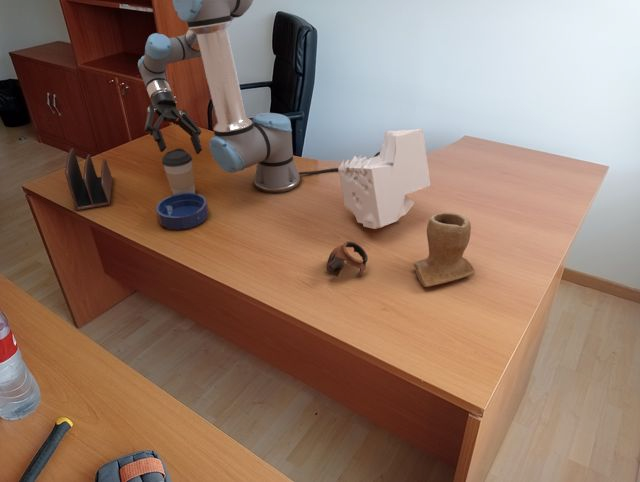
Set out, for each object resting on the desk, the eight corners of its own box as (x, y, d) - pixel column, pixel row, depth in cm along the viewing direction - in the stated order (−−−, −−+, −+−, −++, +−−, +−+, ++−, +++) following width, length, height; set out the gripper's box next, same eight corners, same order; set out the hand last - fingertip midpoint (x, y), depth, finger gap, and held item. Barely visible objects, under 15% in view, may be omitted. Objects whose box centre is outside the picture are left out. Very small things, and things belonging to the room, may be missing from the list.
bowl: (211, 204, 153) (209, 191, 150) (204, 229, 141) (202, 216, 138) (165, 206, 152) (162, 193, 150) (154, 232, 140) (150, 218, 138)
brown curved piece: (334, 255, 129) (350, 234, 125) (360, 280, 127) (377, 259, 123) (310, 270, 119) (326, 247, 115) (337, 296, 117) (355, 274, 113)
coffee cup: (191, 203, 153) (182, 159, 145) (165, 201, 155) (155, 158, 147) (203, 189, 161) (195, 147, 152) (177, 187, 162) (168, 146, 154)
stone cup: (453, 252, 128) (461, 202, 120) (479, 278, 119) (490, 227, 110) (401, 264, 124) (405, 214, 116) (424, 293, 115) (431, 241, 107)
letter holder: (76, 211, 152) (61, 170, 144) (82, 183, 167) (69, 144, 159) (110, 205, 154) (97, 165, 146) (112, 178, 170) (101, 140, 162)
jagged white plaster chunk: (379, 239, 129) (362, 146, 122) (346, 231, 143) (329, 147, 135) (435, 217, 138) (423, 129, 131) (399, 211, 152) (386, 131, 144)
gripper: (187, 109, 176) (207, 158, 171) (121, 99, 157) (141, 155, 152) (198, 95, 171) (218, 146, 166) (131, 84, 152) (152, 141, 147)
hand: (182, 150), depth 159 cm, fingers open, 13 cm apart
